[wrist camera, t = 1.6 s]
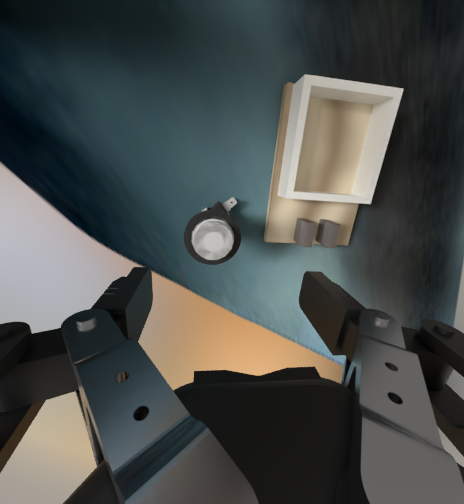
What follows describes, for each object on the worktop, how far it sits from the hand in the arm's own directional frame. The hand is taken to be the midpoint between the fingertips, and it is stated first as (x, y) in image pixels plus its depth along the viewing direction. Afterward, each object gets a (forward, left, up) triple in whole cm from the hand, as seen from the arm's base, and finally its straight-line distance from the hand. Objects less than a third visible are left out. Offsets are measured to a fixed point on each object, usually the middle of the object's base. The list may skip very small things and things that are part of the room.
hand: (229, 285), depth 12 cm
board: (+13, +6, -19) cm, 24 cm away
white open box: (+13, +9, -18) cm, 24 cm away
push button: (0, 0, -19) cm, 19 cm away
